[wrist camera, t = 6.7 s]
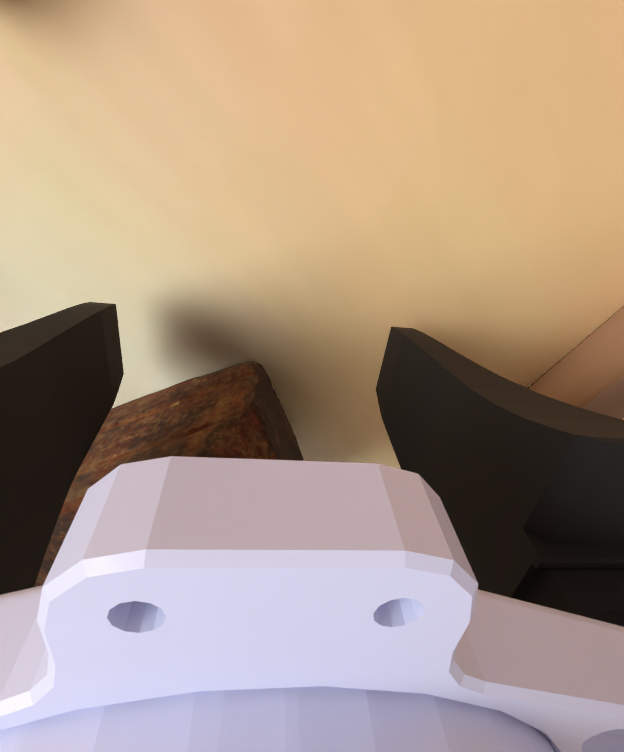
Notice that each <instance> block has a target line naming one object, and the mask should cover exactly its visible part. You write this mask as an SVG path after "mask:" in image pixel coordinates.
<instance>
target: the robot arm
mask: <svg viewBox="0 0 624 752" xmlns="http://www.w3.org/2000/svg"><path fill="white" fill-rule="evenodd" d="M123 374H124V373H123V364H122V355H121V347H120V338H119V329H118V320H117V311H116V304H107V303H94V302H88V303H83V304H79V305H76V306H73V307H70V308H67V309H64V310H62V311H59V312H56V313H54V314H51V315H48V316H46V317H43V318H40V319H38V320H35V321H32V322H30V323H27V324H24V325H21V326H18V327H15V328H13V329H10V330H7V331H4V332H1V333H0V752H624V420H622V419H618V418H615V417H611V416H607V415H603V414H600V413H596V412H593V411H589V410H586V409H583V408H579V407H576V406H573V405H570V404H568V403H565V402H562V401H559V400H556V399H553V398H550V397H547V396H545V395H542V394H540V393H537V392H535V391H532V390H530V389H527V388H525V387H523V386H521V385H518V384H516V383H514V382H511V381H509V380H507V379H505V378H503V377H501V376H499V375H497V374H495V373H493V372H491V371H489V370H487V369H485V368H483V367H482V366H480V365H478V364H476V363H474V362H472V361H471V360H469V359H467V358H465V357H464V356H462V355H460V354H459V353H457V352H455V351H454V350H452V349H450V348H449V347H447V346H445V345H443V344H442V343H440V342H438V341H437V340H435V339H433V338H432V337H430V336H428V335H426V334H424V333H422V332H420V331H418V330H415V329H412V328H400V327H391V330H390V334H389V338H388V342H387V346H386V350H385V354H384V358H383V362H382V366H381V371H380V375H379V379H378V383H377V387H376V392H377V397H378V402H379V407H380V412H381V416H382V419H383V422H384V425H385V428H386V430H387V433H388V436H389V438H390V441H391V444H392V446H393V449H394V451H395V454H396V456H397V459H398V462H399V464H400V467H401V469H398V468H394V467H390V466H386V465H382V464H378V463H352V462H323V461H294V460H265V459H236V458H207V457H178V456H170V457H163V458H157V459H151V460H145V461H139V462H133V463H126V464H121V465H119V466H118V467H117V468H115V469H114V470H113V471H111V472H110V473H109V474H107V475H106V476H105V477H103V478H102V479H101V480H99V481H98V482H97V483H95V484H94V485H93V486H91V487H90V488H89V489H88V490H87V492H86V494H85V496H84V498H83V501H82V503H81V505H80V507H79V509H78V511H77V513H76V516H75V518H74V520H73V522H72V524H71V526H70V528H69V531H68V533H67V535H66V537H65V539H64V541H63V544H62V546H61V548H60V550H59V552H58V554H57V556H56V559H55V561H54V563H53V565H52V567H51V569H50V572H49V574H48V576H47V578H46V580H45V582H44V584H43V585H42V586H37V587H34V586H35V583H36V580H37V577H38V574H39V571H40V568H41V565H42V562H43V559H44V556H45V553H46V550H47V548H48V545H49V542H50V539H51V536H52V534H53V531H54V528H55V525H56V523H57V520H58V517H59V515H60V512H61V510H62V507H63V504H64V502H65V499H66V497H67V494H68V492H69V489H70V486H71V484H72V482H73V480H74V478H75V476H76V474H77V472H78V470H79V468H80V466H81V464H82V462H83V460H84V458H85V457H86V455H87V453H88V451H89V449H90V447H91V445H92V444H93V442H94V440H95V438H96V436H97V434H98V433H99V431H100V429H101V427H102V425H103V423H104V421H105V419H106V418H107V416H108V414H109V412H110V410H111V408H112V406H113V404H114V401H115V398H116V396H117V393H118V390H119V387H120V384H121V380H122V377H123Z"/></svg>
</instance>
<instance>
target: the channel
mask: <svg viewBox="0 0 624 752" xmlns="http://www.w3.org/2000/svg"><path fill="white" fill-rule="evenodd" d="M528 389H530V390H532V391H535V392H537V393H540V394H542V395H545V396H547V397H550V398H553V399H556V400H559V401H562V402H565V403H568V404H570V405H573V406H576V407H579V408H583V409H586V410H589V411H593V412H596V413H600V414H603V415H607V416H611V417H615V418H618V419H622V418H624V307H623V308H622V309H620V310H619V311H618V312H617V313H616V314H615V315H613V316H612V317H611V318H610V319H609V320H608V321H606V322H605V323H604V324H603V325H602V326H601V327H599V328H598V329H597V330H596V331H595V332H594V333H592V334H591V335H590V336H589V337H588V338H587V339H585V340H584V341H583V342H582V343H581V344H580V345H578V346H577V347H576V348H575V349H574V350H573V351H571V352H570V353H569V354H568V355H567V356H566V357H564V358H563V359H562V360H561V361H560V362H559V363H557V364H556V365H555V366H554V367H553V368H552V369H550V370H549V371H548V372H547V373H546V374H545V375H543V376H542V377H541V378H540V379H539V380H538V381H536V382H535V383H534V384H533V385H532V386H531V387H529V388H528Z"/></svg>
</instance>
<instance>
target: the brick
mask: <svg viewBox="0 0 624 752" xmlns="http://www.w3.org/2000/svg"><path fill="white" fill-rule="evenodd" d="M170 456H178V457H207V458H236V459H265V460H294V461H304V460H303V457H302V454H301V451H300V449H299V446H298V443H297V440H296V437H295V435H294V433H293V430H292V428H291V425H290V423H289V421H288V419H287V417H286V415H285V412H284V410H283V408H282V406H281V404H280V401H279V399H278V398H277V396H276V393H275V391H274V390H273V389H272V385H271V382H270V379H269V377H268V375H267V373H266V372H265V370H264V368H263V367H262V366H261V365H260V364H258V363H255V362H247V363H243V364H240V365H237V366H234V367H231V368H227V369H223V370H220V371H218V372H215V373H212V374H208V375H205V376H202V377H195V378H192V379H190V380H187V381H184V382H182V383H179V384H176V385H174V386H171V387H169V388H166V389H164V390H161V391H158V392H155V393H152V394H149V395H146V396H144V397H141V398H138V399H136V400H133V401H130V402H128V403H125V404H123V405H120V406H118V407H115V408H112V409H111V410H110V412H109V414H108V416H107V418H106V419H105V421H104V423H103V425H102V427H101V429H100V431H99V433H98V434H97V436H96V438H95V440H94V442H93V444H92V445H91V447H90V449H89V451H88V453H87V455H86V457H85V458H84V460H83V462H82V464H81V466H80V468H79V470H78V472H77V474H76V476H75V478H74V480H73V482H72V484H71V486H70V489H69V492H68V494H67V497H66V499H65V502H64V504H63V507H62V510H61V512H60V515H59V517H58V520H57V523H56V525H55V528H54V531H53V534H52V536H51V539H50V542H49V545H48V548H47V550H46V553H45V556H44V559H43V562H42V565H41V568H40V571H39V574H38V577H37V580H36V583H35V586H34V587H37V586H42V585H43V584H44V582H45V580H46V578H47V576H48V574H49V572H50V569H51V567H52V565H53V563H54V561H55V559H56V556H57V554H58V552H59V550H60V548H61V546H62V544H63V541H64V539H65V537H66V535H67V533H68V531H69V528H70V526H71V524H72V522H73V520H74V518H75V516H76V513H77V511H78V509H79V507H80V505H81V503H82V501H83V498H84V496H85V494H86V492H87V490H88V489H89V488H90V487H91V486H93V485H94V484H95V483H97V482H98V481H99V480H101V479H102V478H103V477H105V476H106V475H107V474H109V473H110V472H111V471H113V470H114V469H115V468H117V467H118V466H119V465H121V464H126V463H133V462H139V461H145V460H151V459H157V458H163V457H170Z"/></svg>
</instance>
